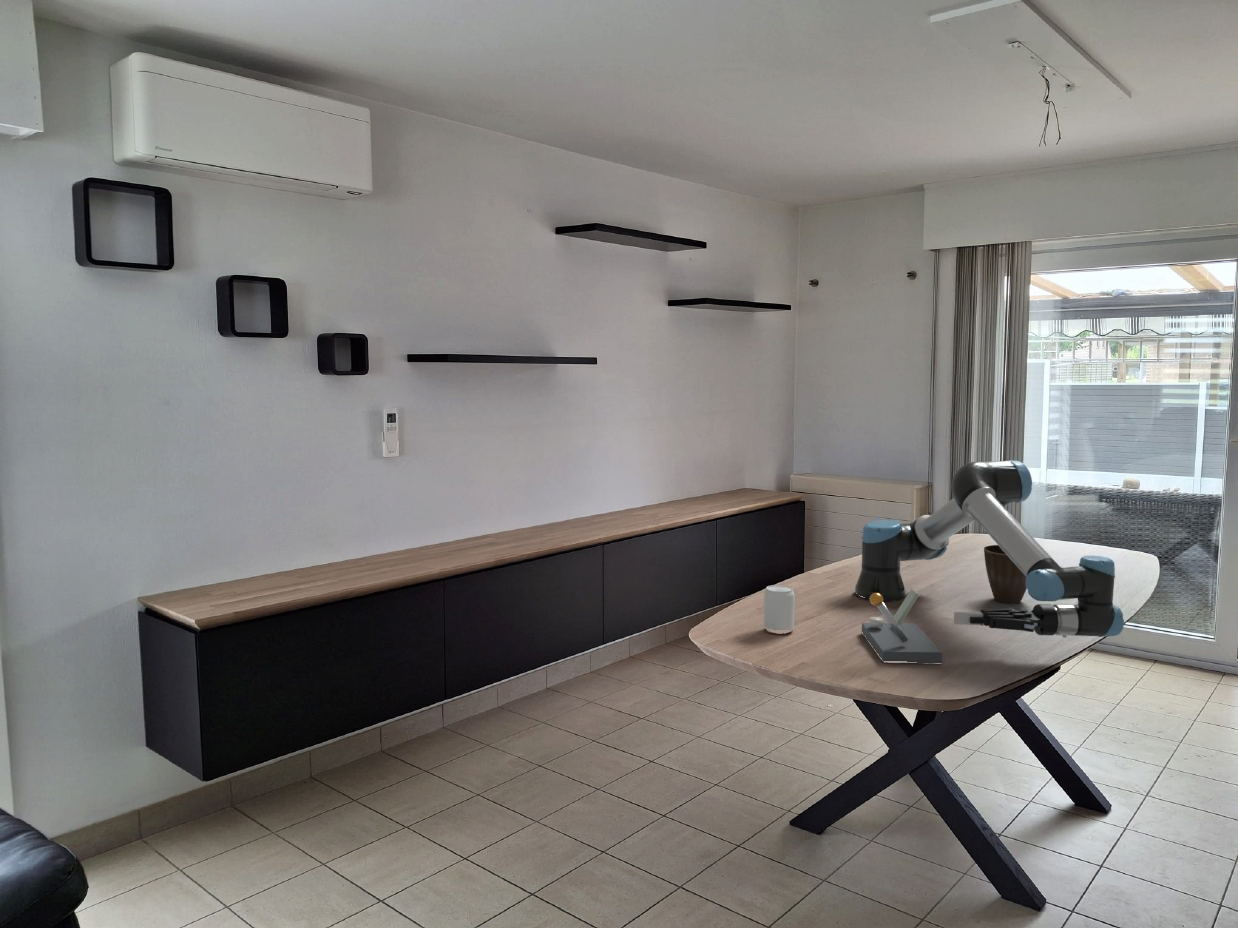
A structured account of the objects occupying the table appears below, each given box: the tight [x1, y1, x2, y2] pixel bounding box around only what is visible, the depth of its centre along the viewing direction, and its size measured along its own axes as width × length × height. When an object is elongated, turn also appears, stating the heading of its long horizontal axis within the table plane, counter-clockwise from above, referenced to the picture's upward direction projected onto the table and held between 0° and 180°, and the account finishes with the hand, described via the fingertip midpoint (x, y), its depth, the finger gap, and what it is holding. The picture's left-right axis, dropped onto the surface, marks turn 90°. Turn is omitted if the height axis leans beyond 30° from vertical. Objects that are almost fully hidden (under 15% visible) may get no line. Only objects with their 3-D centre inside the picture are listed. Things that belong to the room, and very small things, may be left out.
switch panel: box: [861, 622, 943, 664], centre depth 224 cm, size 24×14×3 cm, turn 177°
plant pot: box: [983, 544, 1028, 605], centre depth 269 cm, size 15×15×16 cm
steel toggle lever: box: [869, 593, 908, 643], centre depth 216 cm, size 3×3×14 cm
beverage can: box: [763, 584, 796, 630], centre depth 238 cm, size 8×8×12 cm
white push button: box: [868, 616, 884, 627], centre depth 231 cm, size 4×4×2 cm
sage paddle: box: [893, 588, 920, 626], centre depth 230 cm, size 4×1×10 cm, turn 177°
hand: (955, 618), depth 216 cm, fingers closed
